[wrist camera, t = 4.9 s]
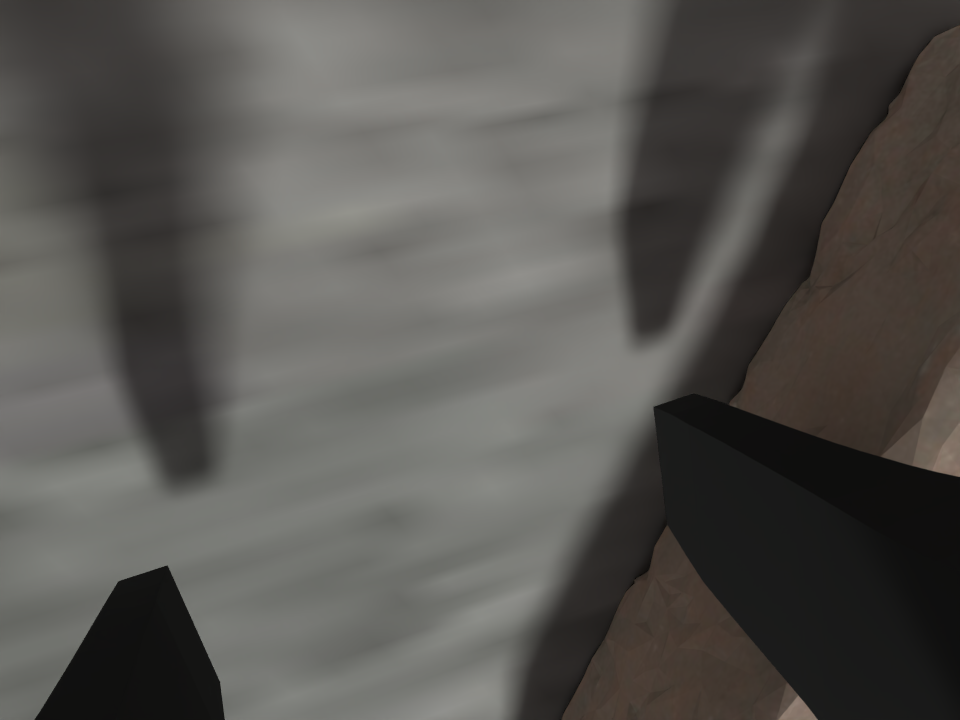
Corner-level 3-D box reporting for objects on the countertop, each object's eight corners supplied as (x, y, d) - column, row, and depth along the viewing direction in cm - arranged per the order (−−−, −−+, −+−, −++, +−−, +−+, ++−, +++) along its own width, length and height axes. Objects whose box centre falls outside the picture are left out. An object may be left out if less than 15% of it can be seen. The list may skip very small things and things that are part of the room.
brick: (915, -2, 13) (1246, 17, 9) (1230, 193, 16) (1579, 274, 12) (473, 828, 18) (556, 1095, 13) (789, 849, 21) (932, 1069, 17)
